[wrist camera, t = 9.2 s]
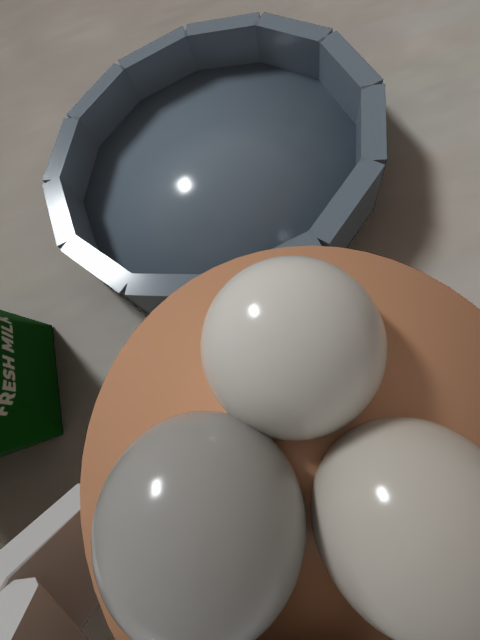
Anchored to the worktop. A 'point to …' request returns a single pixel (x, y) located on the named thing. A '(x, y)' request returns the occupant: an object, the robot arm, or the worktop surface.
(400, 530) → the pebble cup
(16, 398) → the milk carton
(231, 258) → the slate bowl
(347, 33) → the worktop surface
